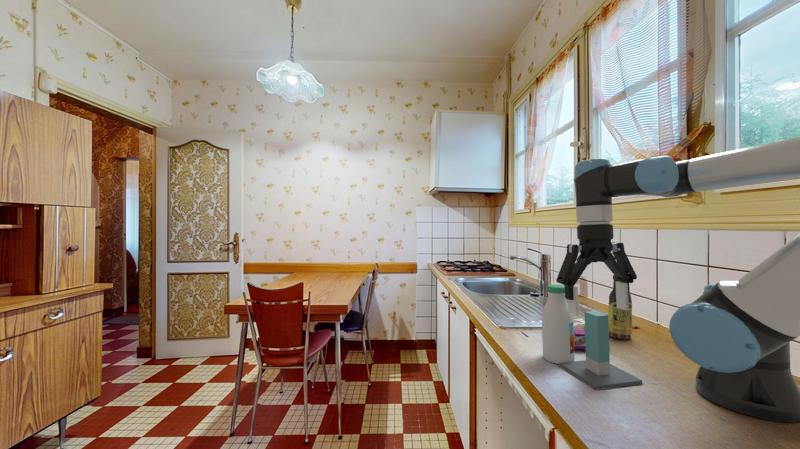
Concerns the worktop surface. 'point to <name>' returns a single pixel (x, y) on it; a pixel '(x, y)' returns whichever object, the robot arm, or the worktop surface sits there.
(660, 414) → the worktop surface
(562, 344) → the milk bottle
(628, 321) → the sauce bottle
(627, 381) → the mat
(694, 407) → the worktop surface
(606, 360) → the stick
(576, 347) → the candy bar box
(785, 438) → the worktop surface
